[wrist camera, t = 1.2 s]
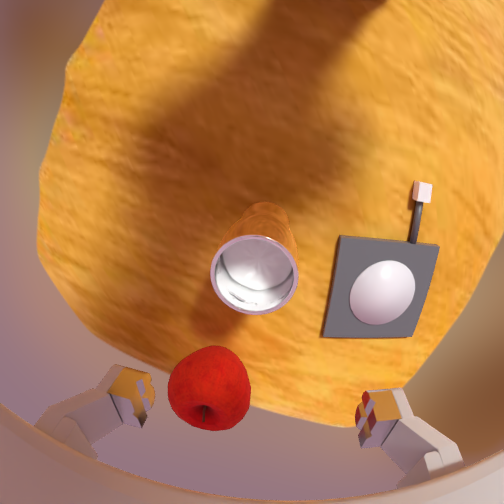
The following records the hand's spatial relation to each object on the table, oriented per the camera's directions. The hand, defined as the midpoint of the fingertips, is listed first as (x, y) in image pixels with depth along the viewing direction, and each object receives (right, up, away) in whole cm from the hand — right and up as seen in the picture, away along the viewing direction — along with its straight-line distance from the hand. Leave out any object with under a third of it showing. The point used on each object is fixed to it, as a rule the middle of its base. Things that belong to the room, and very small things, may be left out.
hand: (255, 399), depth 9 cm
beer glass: (+2, +9, +25) cm, 27 cm away
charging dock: (+18, +4, +25) cm, 31 cm away
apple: (-5, -11, +34) cm, 36 cm away
